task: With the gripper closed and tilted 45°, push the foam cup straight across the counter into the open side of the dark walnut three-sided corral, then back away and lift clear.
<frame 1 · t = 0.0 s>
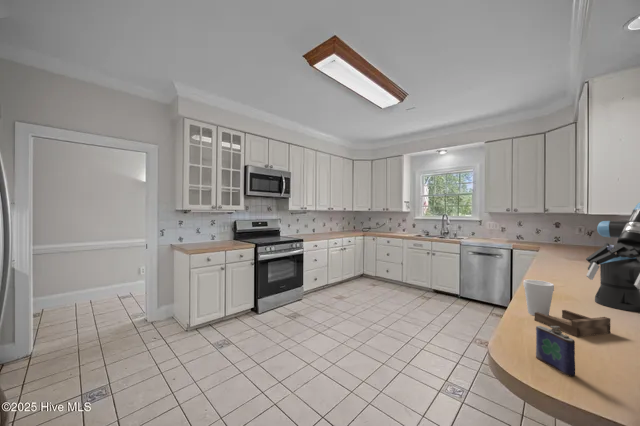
hand: (611, 282, 96), 15 cm above the table, tool tilted 35°, fingers open, 13 cm apart
foam cup: (538, 314, 103), on the table
flask: (555, 367, 67), on the table
corral: (568, 325, 93), on the table
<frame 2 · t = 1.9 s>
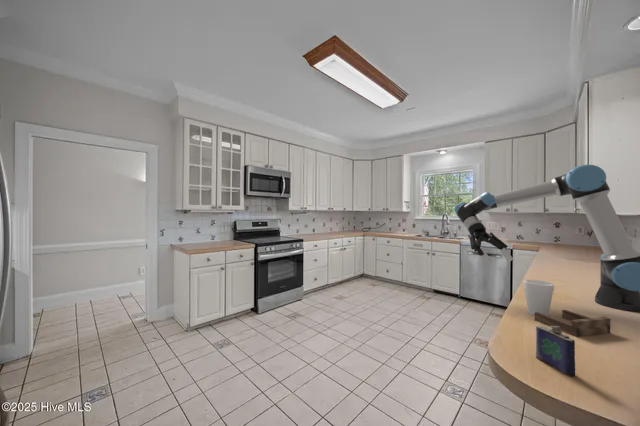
hand: (499, 260, 120), 19 cm above the table, tool tilted 45°, fingers open, 13 cm apart
nothing on the table moved.
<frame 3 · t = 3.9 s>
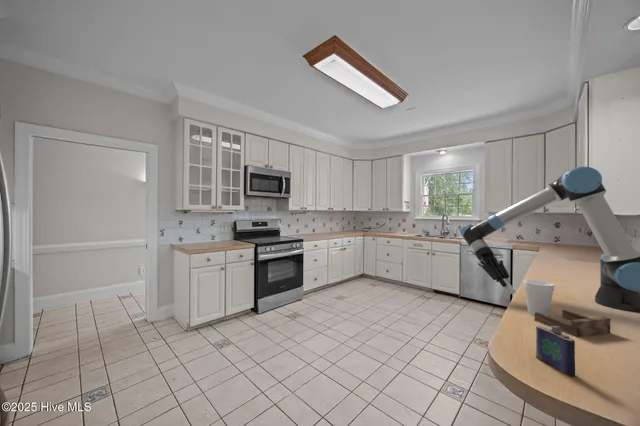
hand: (512, 292, 114), 5 cm above the table, tool tilted 45°, fingers closed
nothing on the table moved.
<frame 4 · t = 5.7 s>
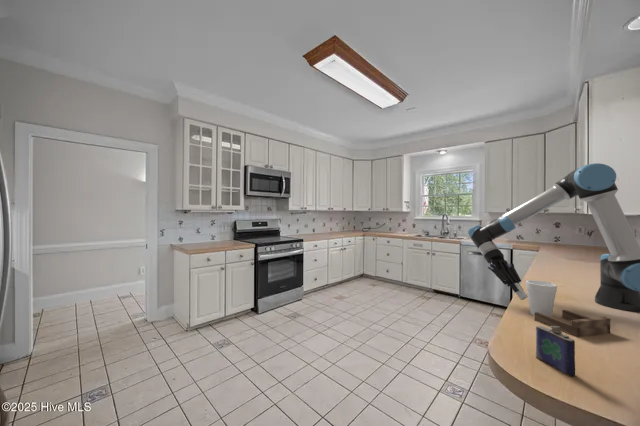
hand: (524, 298, 108), 5 cm above the table, tool tilted 45°, fingers closed
foam cup: (540, 315, 102), on the table, touching gripper
everything else where it was.
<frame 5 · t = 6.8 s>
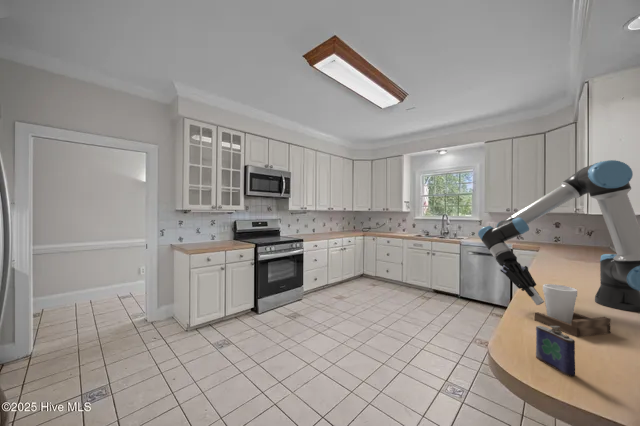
hand: (540, 303, 102), 5 cm above the table, tool tilted 45°, fingers closed
foam cup: (559, 322, 96), on the table, touching gripper
everything else where it was.
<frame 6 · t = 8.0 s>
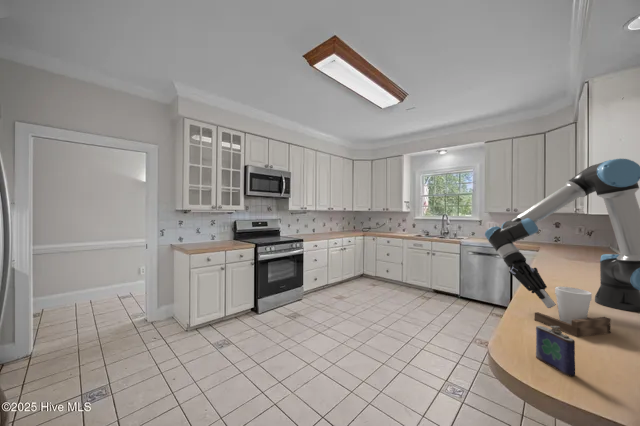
hand: (551, 306, 98), 5 cm above the table, tool tilted 45°, fingers closed
foam cup: (572, 326, 93), on the table, touching gripper
everything else where it was.
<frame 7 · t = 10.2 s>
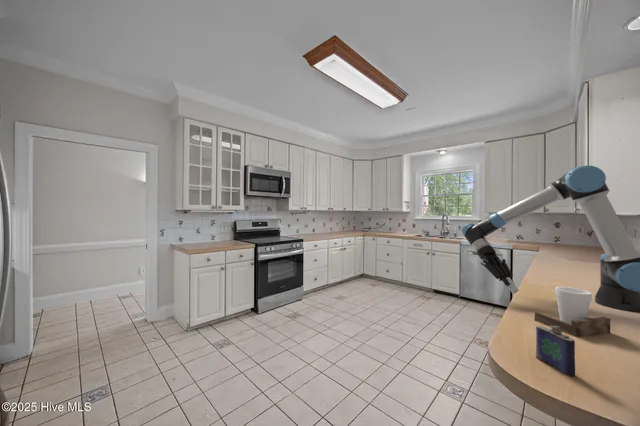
hand: (515, 291, 113), 6 cm above the table, tool tilted 45°, fingers closed
foam cup: (572, 326, 93), on the table
everything else where it was.
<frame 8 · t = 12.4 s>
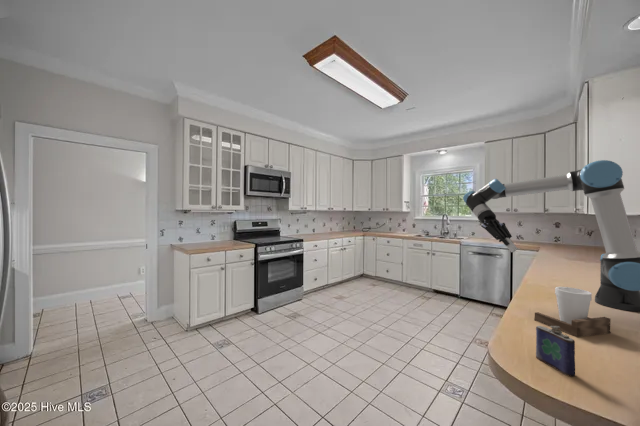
hand: (514, 250, 117), 24 cm above the table, tool tilted 45°, fingers closed
nothing on the table moved.
at the end: foam cup 1.4 cm off-centre on the corral, point 0.0 cm above the corral's base; foam cup tilted 0° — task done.
